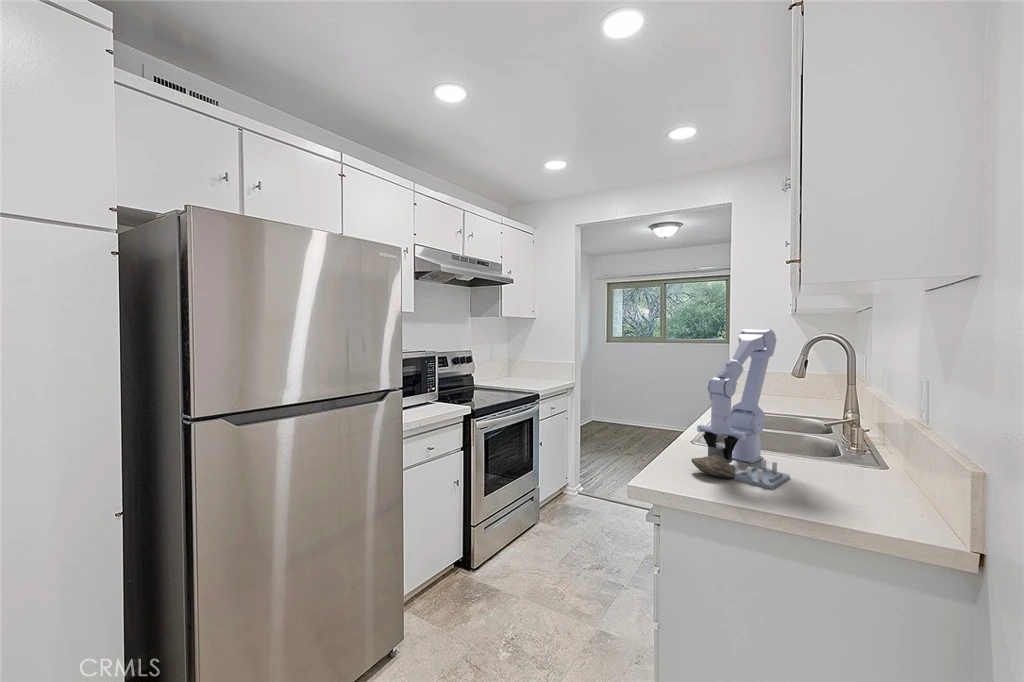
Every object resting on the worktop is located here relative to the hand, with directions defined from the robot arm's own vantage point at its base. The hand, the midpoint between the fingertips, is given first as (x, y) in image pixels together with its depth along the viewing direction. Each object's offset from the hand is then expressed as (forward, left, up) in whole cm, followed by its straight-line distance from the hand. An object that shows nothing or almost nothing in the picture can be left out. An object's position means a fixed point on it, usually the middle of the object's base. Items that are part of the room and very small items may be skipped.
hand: (720, 457), depth 141 cm
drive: (0, 0, -2) cm, 2 cm away
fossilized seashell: (+11, +2, -3) cm, 11 cm away
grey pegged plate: (+3, +13, -3) cm, 14 cm away
